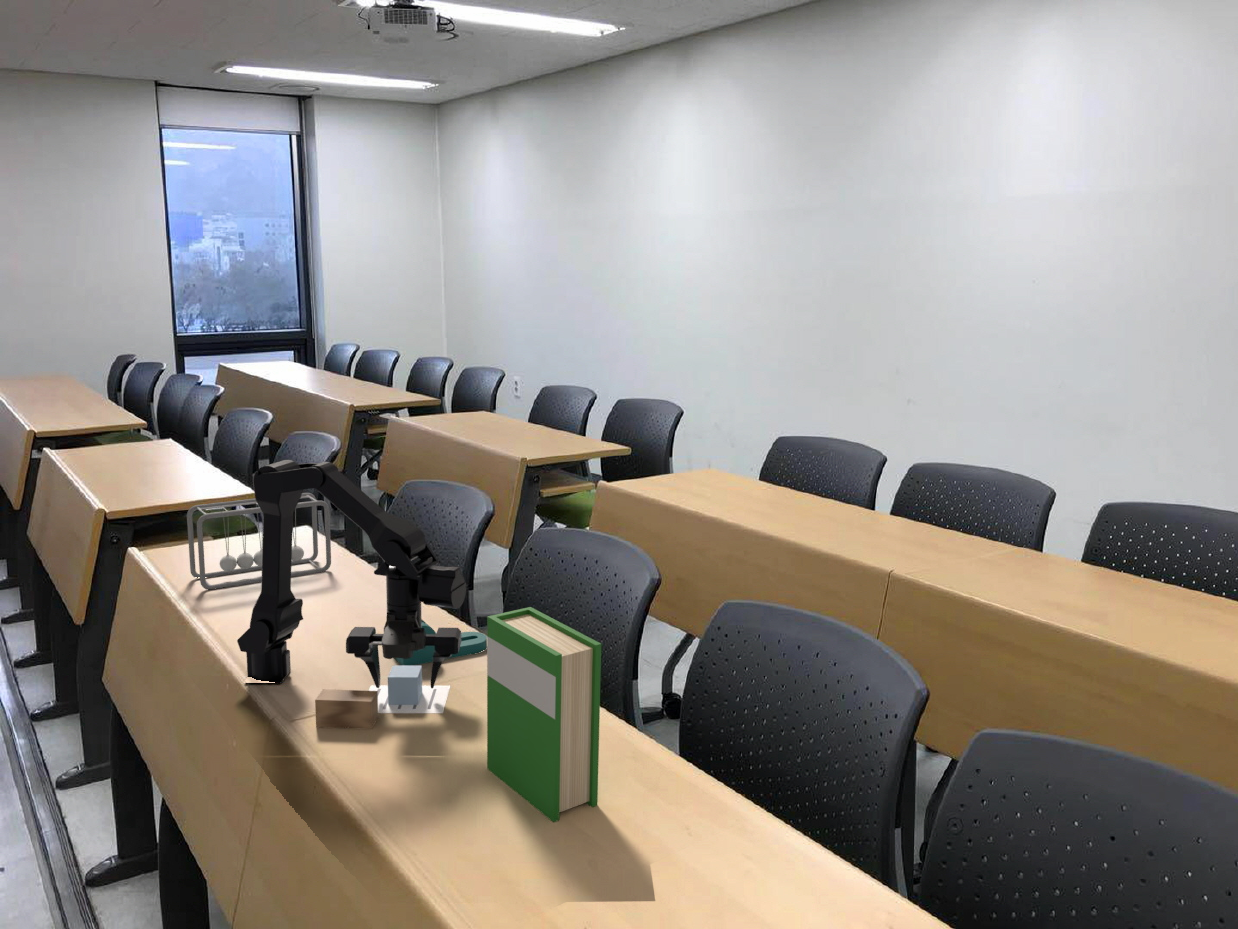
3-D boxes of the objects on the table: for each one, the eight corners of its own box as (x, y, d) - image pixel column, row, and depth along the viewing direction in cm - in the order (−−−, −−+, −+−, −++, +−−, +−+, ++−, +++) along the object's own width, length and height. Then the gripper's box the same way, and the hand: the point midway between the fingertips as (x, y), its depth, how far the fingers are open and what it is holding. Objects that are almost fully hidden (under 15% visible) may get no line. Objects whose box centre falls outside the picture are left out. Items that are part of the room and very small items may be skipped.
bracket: (403, 669, 182) (402, 629, 181) (391, 656, 188) (390, 617, 187) (492, 651, 192) (492, 613, 190) (478, 640, 197) (478, 602, 196)
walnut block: (316, 728, 158) (315, 699, 157) (323, 717, 162) (322, 689, 161) (371, 730, 158) (371, 701, 157) (378, 719, 162) (377, 691, 161)
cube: (388, 704, 167) (387, 677, 166) (393, 692, 172) (392, 665, 171) (417, 705, 167) (417, 677, 166) (422, 692, 172) (421, 665, 171)
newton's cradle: (317, 560, 246) (315, 491, 243) (332, 571, 238) (329, 500, 235) (190, 579, 229) (185, 505, 226) (201, 592, 221) (196, 515, 217)
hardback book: (597, 805, 138) (601, 643, 133) (553, 822, 133) (556, 655, 128) (529, 755, 151) (530, 606, 147) (487, 769, 147) (487, 616, 142)
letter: (357, 713, 164) (357, 712, 164) (371, 685, 174) (371, 685, 174) (442, 713, 164) (442, 713, 164) (450, 686, 175) (450, 685, 175)
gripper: (336, 617, 157) (339, 707, 161) (454, 618, 158) (454, 708, 162) (352, 594, 168) (354, 679, 171) (461, 595, 169) (462, 680, 172)
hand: (405, 687), depth 169 cm, fingers open, 9 cm apart
